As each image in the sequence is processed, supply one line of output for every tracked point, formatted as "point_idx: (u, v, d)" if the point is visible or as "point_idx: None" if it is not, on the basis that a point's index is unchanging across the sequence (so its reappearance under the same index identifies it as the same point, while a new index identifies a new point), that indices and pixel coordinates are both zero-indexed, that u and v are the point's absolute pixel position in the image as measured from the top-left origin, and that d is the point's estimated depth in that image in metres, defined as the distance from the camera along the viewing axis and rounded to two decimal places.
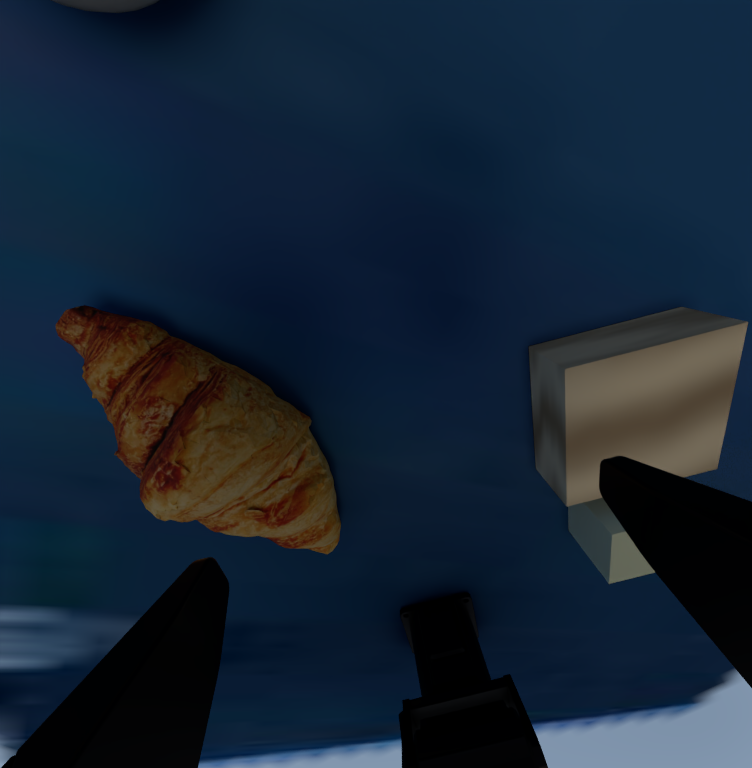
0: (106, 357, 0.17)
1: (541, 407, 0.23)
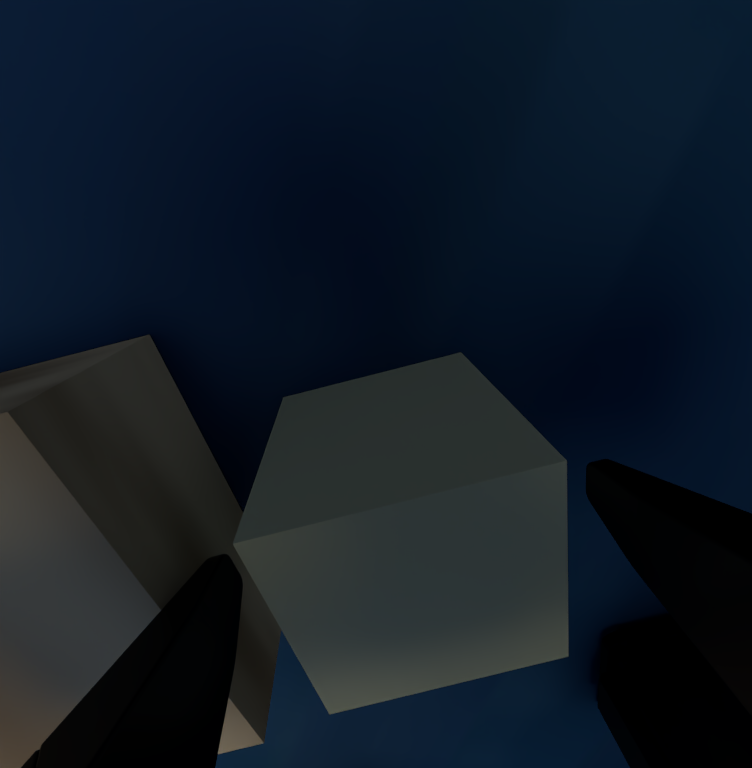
0: None
1: None
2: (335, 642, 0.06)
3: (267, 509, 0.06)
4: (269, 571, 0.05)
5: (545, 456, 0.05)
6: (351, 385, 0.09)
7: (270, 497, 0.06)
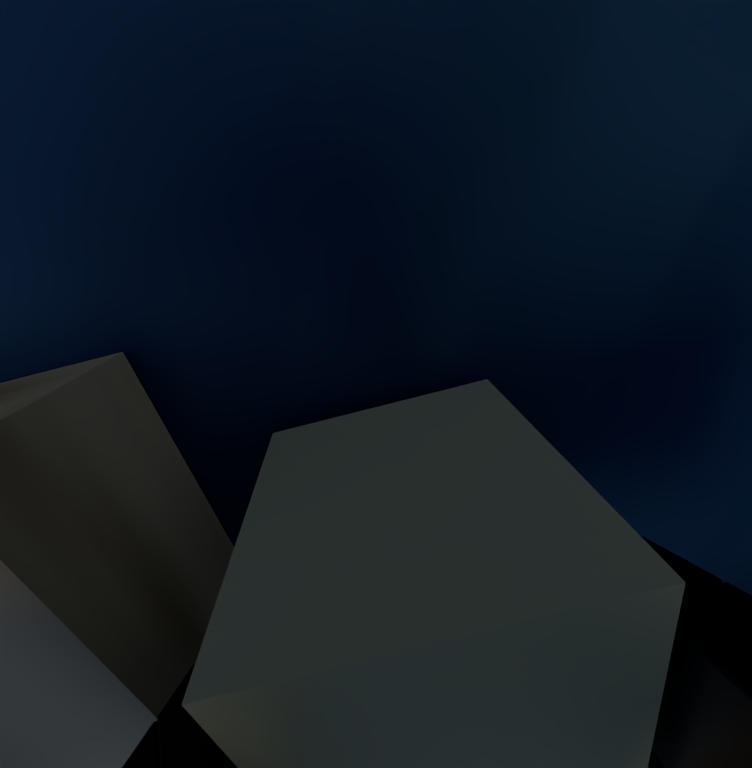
0: None
1: None
2: None
3: (238, 634, 0.04)
4: (239, 732, 0.04)
5: (647, 570, 0.04)
6: (355, 422, 0.08)
7: (244, 610, 0.04)
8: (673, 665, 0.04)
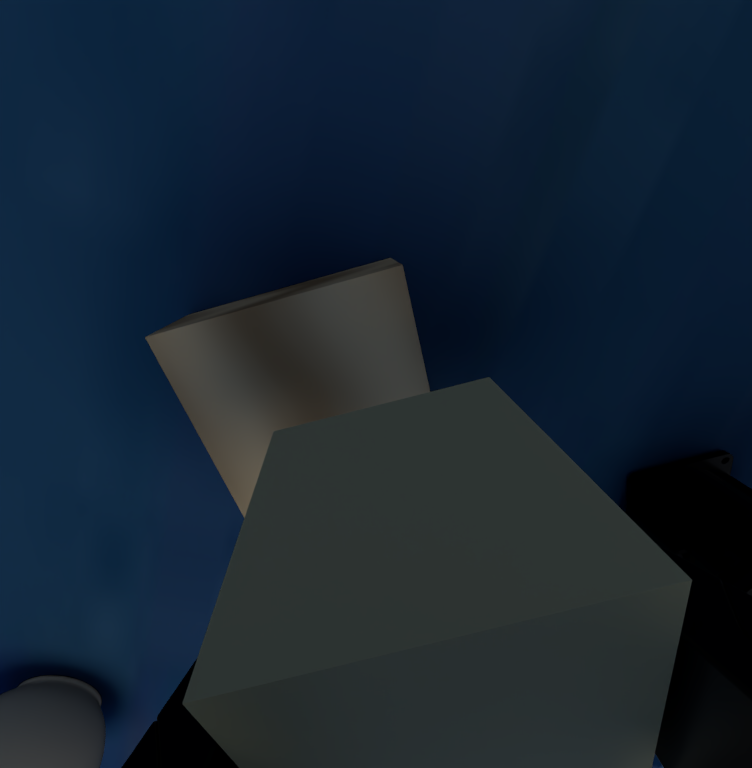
0: None
1: None
2: None
3: (239, 633, 0.04)
4: (240, 732, 0.04)
5: (653, 568, 0.03)
6: (356, 420, 0.07)
7: (245, 608, 0.04)
8: None
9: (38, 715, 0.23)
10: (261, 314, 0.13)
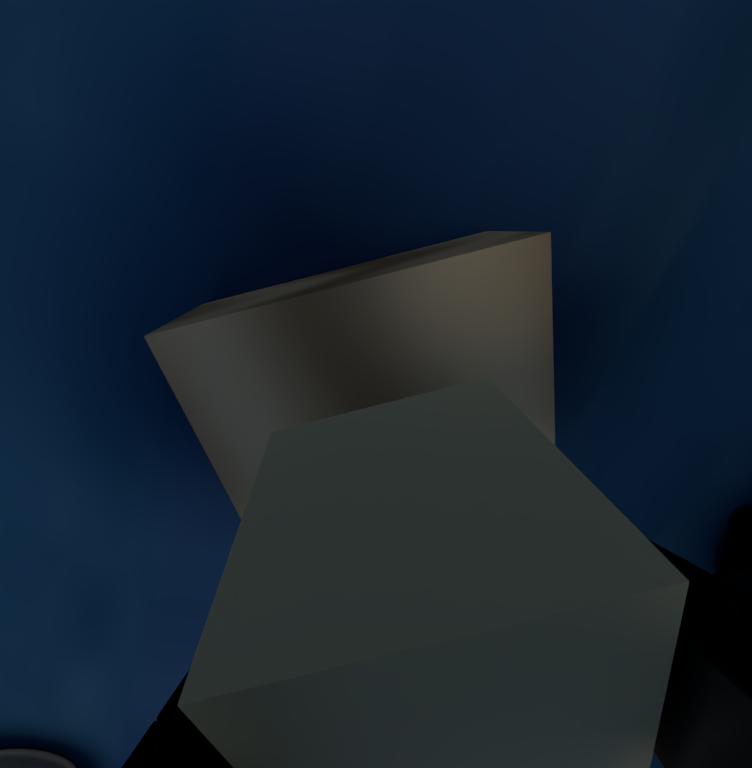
0: None
1: None
2: None
3: (235, 634, 0.04)
4: (236, 734, 0.04)
5: (650, 569, 0.03)
6: (354, 420, 0.07)
7: (241, 609, 0.04)
8: (673, 665, 0.04)
9: None
10: (327, 304, 0.09)
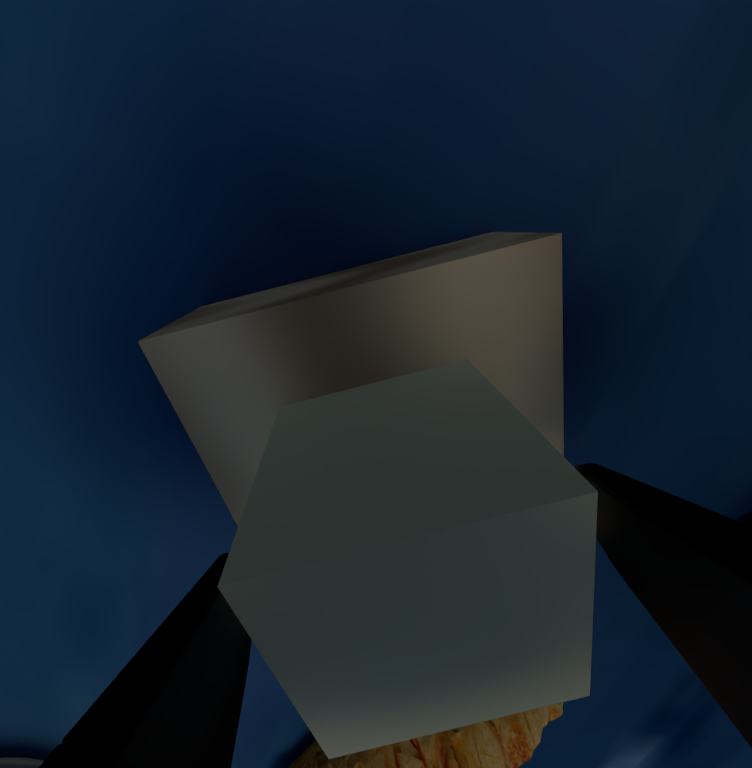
0: None
1: None
2: (334, 686, 0.06)
3: (258, 543, 0.05)
4: (260, 615, 0.05)
5: (572, 485, 0.05)
6: (351, 396, 0.09)
7: (261, 528, 0.05)
8: None
9: None
10: (329, 308, 0.08)
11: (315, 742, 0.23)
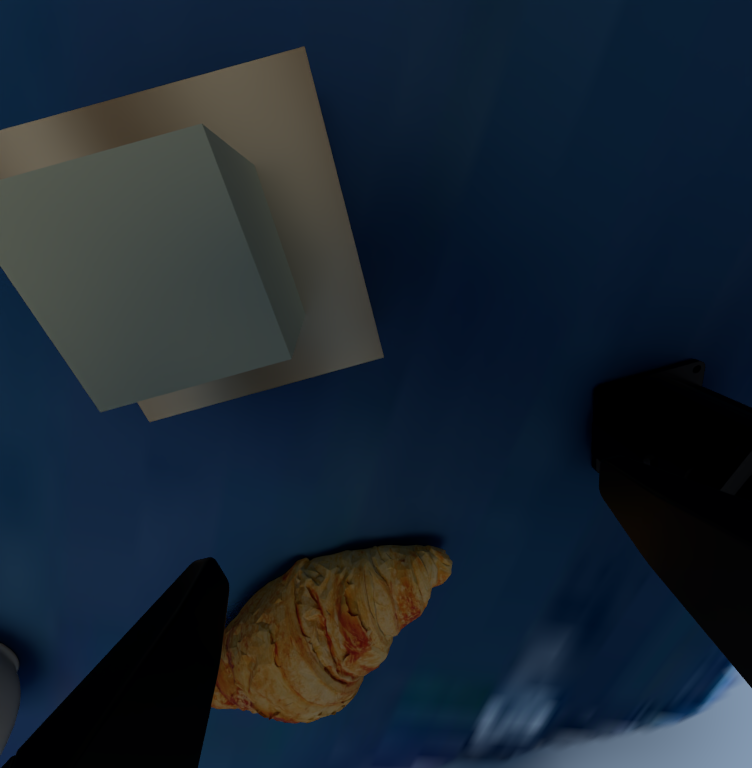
0: None
1: None
2: (76, 320, 0.08)
3: None
4: None
5: (194, 128, 0.07)
6: None
7: None
8: None
9: None
10: (127, 111, 0.10)
11: (236, 616, 0.25)
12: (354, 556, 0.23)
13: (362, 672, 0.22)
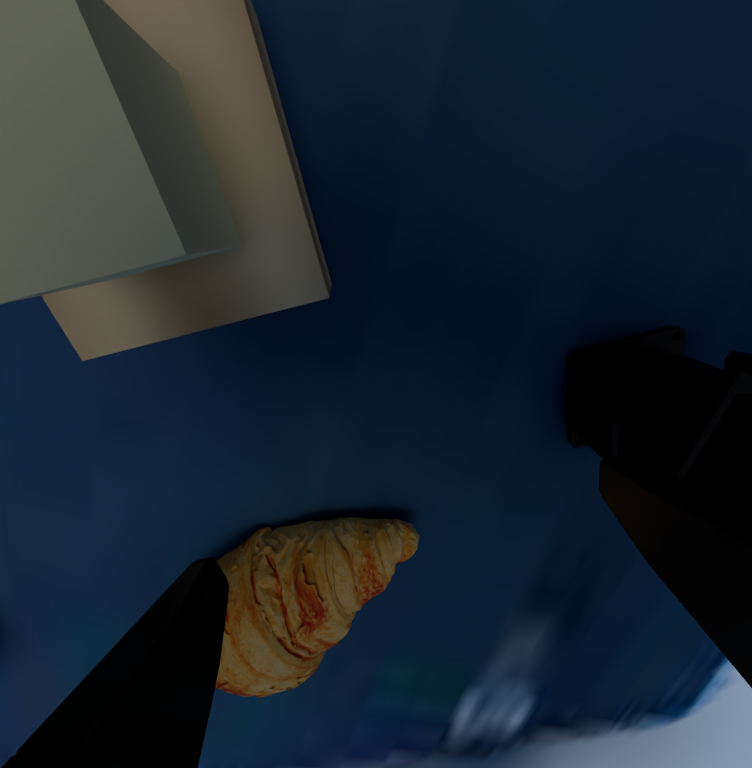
0: None
1: None
2: None
3: None
4: None
5: None
6: None
7: None
8: None
9: None
10: None
11: None
12: (317, 526, 0.22)
13: (319, 647, 0.21)
